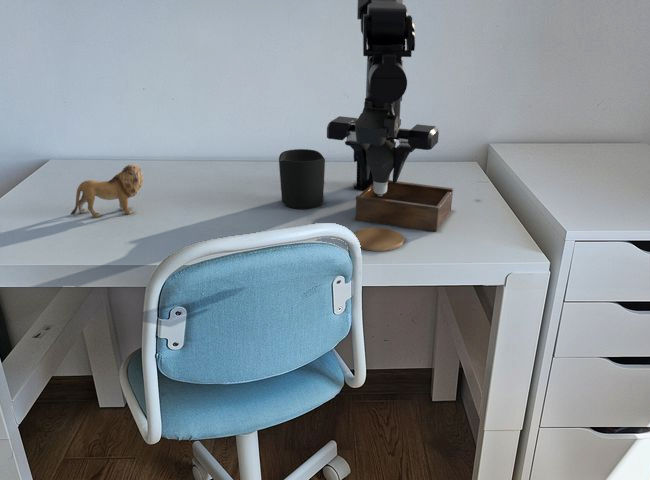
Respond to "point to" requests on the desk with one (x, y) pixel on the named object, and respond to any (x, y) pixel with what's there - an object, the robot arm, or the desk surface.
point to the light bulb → (381, 165)
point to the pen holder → (302, 178)
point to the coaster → (379, 239)
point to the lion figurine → (110, 190)
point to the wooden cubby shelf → (406, 205)
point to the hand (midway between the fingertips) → (380, 181)
